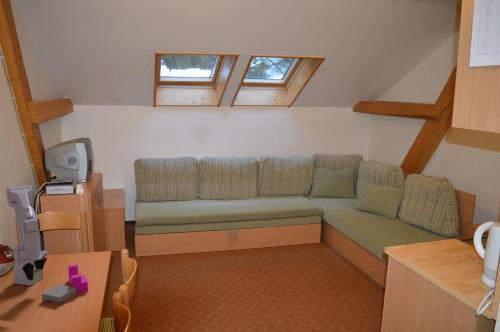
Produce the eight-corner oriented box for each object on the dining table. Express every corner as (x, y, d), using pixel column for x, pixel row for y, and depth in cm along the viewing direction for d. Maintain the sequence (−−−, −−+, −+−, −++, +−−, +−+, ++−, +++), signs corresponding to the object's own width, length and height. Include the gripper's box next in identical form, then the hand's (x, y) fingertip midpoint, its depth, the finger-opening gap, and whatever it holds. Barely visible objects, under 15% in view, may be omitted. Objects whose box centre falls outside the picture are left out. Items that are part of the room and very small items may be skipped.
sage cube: (26, 282, 168) (25, 272, 167) (34, 278, 172) (34, 268, 171) (35, 283, 167) (34, 273, 166) (43, 279, 171) (42, 269, 170)
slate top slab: (42, 298, 164) (41, 293, 164) (58, 288, 172) (58, 284, 172) (59, 301, 161) (59, 297, 161) (75, 292, 170) (75, 287, 169)
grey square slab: (42, 303, 164) (42, 298, 164) (58, 293, 173) (58, 288, 172) (60, 306, 162) (60, 301, 161) (76, 296, 170) (75, 291, 170)
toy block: (88, 291, 174) (87, 275, 173) (72, 294, 171) (71, 278, 170) (83, 278, 187) (82, 263, 185) (69, 280, 184) (68, 265, 182)
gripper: (26, 253, 159) (29, 285, 161) (53, 241, 173) (55, 271, 175) (12, 252, 161) (15, 283, 163) (39, 240, 175) (41, 269, 177)
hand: (34, 277), depth 169 cm, fingers closed on sage cube, 4 cm apart
